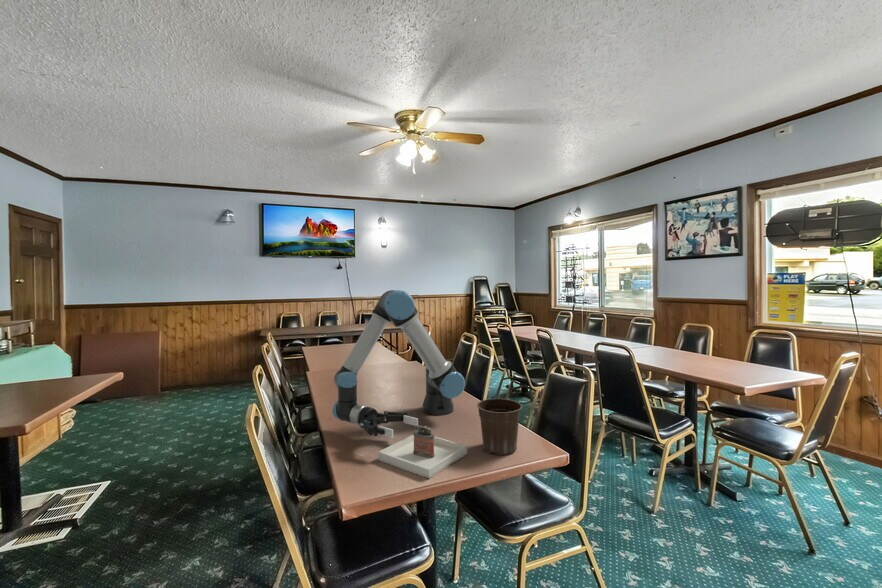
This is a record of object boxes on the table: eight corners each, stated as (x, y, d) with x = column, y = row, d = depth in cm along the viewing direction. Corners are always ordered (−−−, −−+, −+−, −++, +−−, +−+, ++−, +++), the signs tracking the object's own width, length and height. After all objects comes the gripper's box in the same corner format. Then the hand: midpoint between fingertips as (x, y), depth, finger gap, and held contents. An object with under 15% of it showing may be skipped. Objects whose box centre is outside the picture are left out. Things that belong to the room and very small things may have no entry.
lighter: (436, 455, 134) (436, 426, 134) (431, 459, 131) (431, 429, 131) (416, 450, 138) (416, 422, 138) (411, 454, 135) (411, 425, 135)
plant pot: (491, 461, 131) (491, 414, 131) (469, 443, 146) (469, 401, 145) (530, 453, 137) (531, 408, 137) (505, 437, 152) (505, 396, 152)
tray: (418, 439, 150) (418, 431, 150) (467, 454, 137) (467, 445, 137) (378, 460, 132) (378, 451, 132) (429, 479, 119) (429, 469, 119)
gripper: (386, 416, 161) (426, 427, 149) (339, 435, 141) (381, 450, 129) (386, 399, 161) (426, 408, 149) (338, 415, 141) (380, 427, 129)
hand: (405, 427), depth 139 cm, fingers open, 13 cm apart
